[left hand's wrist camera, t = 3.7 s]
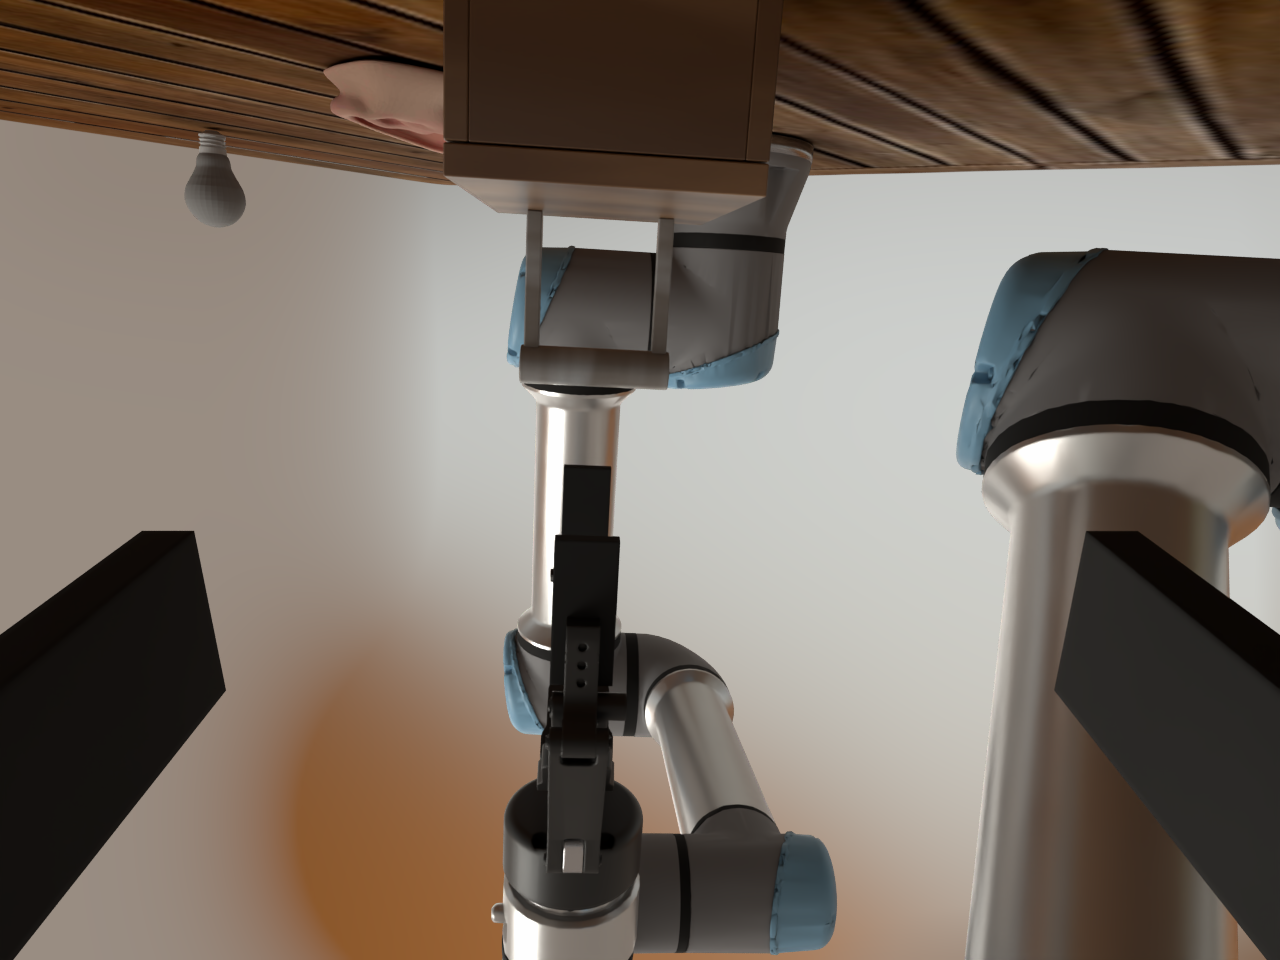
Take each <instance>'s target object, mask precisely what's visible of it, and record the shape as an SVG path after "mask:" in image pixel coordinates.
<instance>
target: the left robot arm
mask: <svg viewBox="0 0 1280 960" xmlns="http://www.w3.org/2000/svg"><path fill="white" fill-rule="evenodd" d="M956 456H957V461H958V463H959V464H960V466H962V467H963V468H965V469H969V470H972V471H973V472H974V473H976V474H979V475H983V474H984V476H983V482H982V495H983V500H984V503H985V506H986V508H987V509H988V511H989V512H990V514H991V515H992V516H993V517H994V518H995V519H996V520H997V521H998V522H999V523H1000V524H1001V525H1002V526H1003V527H1004V528H1005V529H1007V530H1008V531H1009V532H1010V543H1009V552H1008V561H1007V571H1006V580H1005V589H1004V599H1003V608H1002V617H1001V626H1000V636H999V645H998V654H997V663H996V673H995V682H994V691H993V701H992V710H991V719H990V729H989V738H988V747H987V756H986V766H985V775H984V784H983V794H982V803H981V812H980V821H979V831H978V840H977V849H976V859H975V868H974V877H973V886H972V896H971V905H970V914H969V924H968V933H967V942H966V952H965V960H1238V934H1237V923H1238V924H1239V925H1240V926H1241V928H1242V929H1243V930H1244V931H1245V933H1246V934H1247V935H1248V937H1249V938H1250V939H1251V940H1252V942H1253V943H1254V944H1255V945H1256V947H1257V948H1258V949H1259V951H1260V952H1261V953H1262V954H1263V955H1264V957H1265V958H1266V959H1267V960H1280V635H1279V634H1278V633H1277V632H1275V631H1274V630H1272V629H1271V628H1270V627H1268V626H1267V625H1266V624H1264V623H1263V622H1262V621H1260V620H1259V619H1257V618H1256V617H1255V616H1253V615H1252V614H1251V613H1249V612H1248V611H1246V610H1245V609H1244V608H1242V607H1241V606H1240V605H1238V604H1237V603H1236V602H1234V601H1233V600H1232V599H1230V597H1229V553H1228V548H1229V547H1230V546H1232V545H1234V544H1235V543H1237V542H1238V541H1240V540H1242V539H1243V538H1245V537H1246V536H1248V535H1249V534H1250V533H1252V532H1253V531H1254V530H1255V529H1257V528H1258V526H1259V525H1260V524H1261V523H1262V522H1263V521H1264V519H1265V517H1266V516H1267V514H1268V512H1269V507H1273V508H1272V513H1273V515H1274V517H1275V520H1276V525H1277V526H1278V528H1279V529H1280V259H1272V258H1252V257H1233V256H1214V255H1194V254H1175V253H1156V252H1136V251H1117V250H1108V249H1107V248H1095V249H1091V250H1089V251H1086V252H1040V253H1035V254H1031V255H1029V256H1027V257H1024V258H1022V259H1020V260H1019V261H1017V262H1016V263H1014V264H1013V265H1012V266H1011V267H1010V268H1009V270H1008V271H1007V272H1006V274H1005V276H1004V277H1003V279H1002V281H1001V283H1000V285H999V287H998V290H997V292H996V295H995V298H994V300H993V303H992V306H991V309H990V312H989V315H988V318H987V322H986V325H985V328H984V331H983V335H982V338H981V342H980V345H979V349H978V353H977V357H976V361H975V372H974V374H973V375H972V378H971V383H970V387H969V390H968V393H967V396H966V400H965V404H964V409H963V413H962V418H961V423H960V429H959V434H958V441H957V451H956ZM225 691H226V688H225V683H224V678H223V673H222V668H221V663H220V658H219V654H218V648H217V643H216V638H215V633H214V628H213V623H212V618H211V613H210V608H209V603H208V598H207V593H206V588H205V583H204V578H203V573H202V568H201V563H200V558H199V553H198V548H197V543H196V538H195V533H194V531H141V532H140V533H139V534H137V535H136V536H134V537H133V538H132V539H130V540H129V541H128V542H126V543H125V544H124V545H122V546H121V547H120V548H118V549H117V550H115V551H114V552H113V553H111V554H110V555H109V556H107V557H106V558H104V559H103V560H102V561H100V562H99V563H98V564H96V565H95V566H93V567H92V568H91V569H89V570H88V571H87V572H85V573H84V574H83V575H81V576H80V577H79V578H77V579H76V580H74V581H73V582H72V583H70V584H69V585H68V586H66V587H65V588H63V589H62V590H61V591H59V592H58V593H57V594H55V595H54V596H53V597H51V598H50V599H48V600H47V601H46V602H44V603H43V604H42V605H40V606H39V607H38V608H36V609H35V610H33V611H32V612H31V613H29V614H28V615H27V616H25V617H24V618H23V619H21V620H20V621H19V622H17V623H16V624H14V625H13V626H12V627H10V628H9V629H7V630H6V631H5V632H3V633H2V634H1V635H0V960H13V959H14V958H15V957H16V956H17V954H18V953H19V952H20V950H21V949H22V948H23V947H24V945H25V944H26V943H27V942H28V940H29V939H30V938H31V936H32V935H33V934H34V933H35V932H36V930H37V929H38V928H39V926H40V925H41V924H42V923H43V921H44V920H45V919H46V918H47V916H48V915H49V914H50V913H51V911H52V910H53V909H54V907H55V906H56V905H57V904H58V902H59V901H60V900H61V899H62V897H63V896H64V895H65V894H66V892H67V891H68V890H69V888H70V887H71V886H72V885H73V883H74V882H75V881H76V880H77V878H78V877H79V876H80V875H81V873H82V872H83V871H84V869H85V868H86V867H87V866H88V864H89V863H90V862H91V861H92V859H93V858H94V857H95V856H96V854H97V853H98V852H99V850H100V849H101V848H102V847H103V845H104V844H105V843H106V842H107V840H108V839H109V838H110V837H111V835H112V834H113V833H114V831H115V830H116V829H117V828H118V826H119V825H120V824H121V823H122V821H123V820H124V819H125V817H126V816H127V815H128V814H129V812H130V811H131V810H132V809H133V807H134V806H135V805H136V804H137V802H138V801H139V800H140V799H141V797H142V796H143V795H144V793H145V792H146V791H147V790H148V788H149V787H150V786H151V785H152V783H153V782H154V781H155V780H156V778H157V777H158V776H159V775H160V773H161V772H162V771H163V769H164V768H165V767H166V766H167V764H168V763H169V762H170V761H171V759H172V758H173V757H174V755H175V754H176V753H177V752H178V750H179V749H180V748H181V747H182V745H183V744H184V743H185V742H186V740H187V739H188V738H189V736H190V735H191V734H192V733H193V731H194V730H195V729H196V728H197V726H198V725H199V724H200V723H201V721H202V720H203V719H204V718H205V716H206V715H207V714H208V712H209V711H210V710H211V709H212V707H213V706H214V705H215V704H216V702H217V701H218V700H219V699H220V697H221V696H222V695H223V693H224V692H225Z"/></svg>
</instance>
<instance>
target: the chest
mask: <svg viewBox="0 0 1280 960" xmlns="http://www.w3.org/2000/svg"><path fill="white" fill-rule="evenodd" d="M782 11H783V0H444V12H443V138H444V140H445V141H446V142H452V143H467V144H482V145H497V146H511V147H526V148H541V149H556V150H571V151H586V152H600V153H615V154H630V155H645V156H660V157H674V158H689V159H704V160H719V161H734V162H749V163H763V164H766V163H768V162H769V161H770V150H771V138H772V127H773V115H774V104H775V92H776V80H777V69H778V57H779V45H780V34H781V22H782Z"/></svg>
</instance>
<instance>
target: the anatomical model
mask: <svg viewBox="0 0 1280 960" xmlns="http://www.w3.org/2000/svg"><path fill="white" fill-rule="evenodd" d="M324 74H325V75H326V77H327V78H328V79H329V80H330V81H331V82H333V83H334V84H335V85H336V86H337V87H338V88H339V90H340V92H341V93H340V95H339V96H337V97H336V98H334V99H333V100H332V101H331V104H330V107H331V111H332V112H333V113H334V114H336V115H338V116H340V117H342V118H345V119H348V120H350V121H353V122H355V123H358V124H360V125H362V126H364V127H367V128H369V129H372V130H374V131H377V132H380V133H383V134H385V135H388V136H391V137H394V138H397V139H400V140H403V141H405V142H408V143H411V144H414V145H417V146H420V147H423V148H426V149H429V150H432V151H435V152H439V153H443V144H444V142H446V141H445V140H444V138H443V72H442V71H438V70H434V69H429V68H424V67H419V66H414V65H409V64H403V63H398V62H392V61H384V60H358V61H351V62H347V63H342V64H338V65H334V66H332V67H329V68H326V69H325V70H324Z"/></svg>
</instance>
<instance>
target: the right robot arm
mask: <svg viewBox="0 0 1280 960" xmlns="http://www.w3.org/2000/svg"><path fill="white" fill-rule="evenodd" d="M812 158H813V146H812V145H811V144H810V143H808V142H805V141H802V140H799V139H795V138H791V137H785V136H779V135H772V138H771V150H770V161H769V162H768V163H766V164H769V172H768V184H767V195H766V197H764V198H761V199H759V200H757V201H755V202H752V203H750V204H748V205H746V206H743V207H741V208H739V209H737V210H734V211H732V212H730V213H727V214H725V215H723V216H721V217H718V218H716V219H714V220H712V221H709V222H707V223H705V224H702V225H689V224H674V237H673V253H672V269H671V285H670V301H669V317H668V333H667V349H666V352H669V357H670V369H669V382H668V387H667V388H673V389H682V388H687V389H706V388H720V387H729V386H736V385H742V384H747V383H751V382H754V381H757V380H760V379H761V378H763V377H764V376H766V375H767V374H768V373H769V371H770V370H771V367H772V364H773V359H774V352H775V345H776V338H777V337H778V335H779V330H778V320H779V308H780V297H781V285H782V274H783V262H784V249H785V239H786V231H787V227H788V224H789V222H790V219H791V217H792V214H793V212H794V210H795V207H796V205H797V202H798V200H799V197H800V195H801V192H802V190H803V187H804V185H805V182H806V180H807V177H808V175H809V172H810V169H811V165H812ZM655 268H656V253H647V252H632V251H616V250H600V249H584V248H575V247H574V246H569V247H568V248H548V247H547V248H546V247H542V274H541V310H540V345H545V346H565V347H584V348H604V349H623V350H643V351H651V337H652V319H653V302H654V285H655ZM525 274H526V256H525V257H524V259H523V261H522V264H521V267H520V272H519V276H518V281H517V286H516V292H515V298H514V303H513V310H512V316H511V323H510V330H509V339H508V353H507V361H508V363H509V364H511V365H514V366H515V367H519V358H520V348H521V345H522V344H524V317H525ZM522 385H523V386H524V388H525V389H526V390H527V391H528V392H529V393H530V394H531V395H532V396H533V397H534V398H535V400H536V441H535V483H534V527H533V569H532V606H531V607H530V608H529V609H527V610H526V611H525V612H524V613H522V615H521V616H520V618H519V620H518V629H514V630H512V631H509V632H508V633H507V634H506V637H505V641H504V660H503V661H504V671H505V675H504V685H505V695H506V702H507V709H508V713H509V717H510V720H511V722H512V725H513V726H514V727H515V728H516V729H517V730H518V731H520V732H521V733H524V734H537V735H541V750H540V760H539V762H538V776H537V779H535V780H533V781H531V782H529V783H527V784H526V785H524V786H523V787H521V788H520V789H519V790H518V791H517V792H516V793H515V794H514V795H513V796H512V798H511V799H510V801H509V803H508V805H507V807H506V809H505V814H504V838H503V869H504V873H505V875H504V890H503V903H496V904H495V905H494V906H493V907H492V914H491V919H492V920H493V922H497V923H504V924H503V935H502V955H503V957H502V960H632V958H633V953H771V954H772V955H778V954H779V953H782V952H795V951H808V950H817V949H820V948H823V947H824V946H825V945H826V944H827V943H828V942H829V941H830V939H831V937H832V935H833V932H834V927H835V921H836V911H837V894H836V883H835V876H834V871H833V866H832V862H831V859H830V856H829V853H828V851H827V849H826V847H825V845H824V844H823V843H822V842H821V840H820V839H818V838H815V837H814V836H811V835H800V834H795V833H793V832H792V831H790V832H786V834H780V832H779V830H778V828H777V826H776V824H775V821H774V819H773V817H772V814H771V812H770V810H769V808H768V805H767V803H766V801H765V798H764V796H763V794H762V791H761V789H760V786H759V784H758V782H757V779H756V777H755V775H754V772H753V770H752V768H751V765H750V763H749V761H748V758H747V756H746V754H745V751H744V749H743V747H742V745H741V742H740V740H739V737H738V735H737V733H736V730H735V728H734V726H733V723H732V721H733V716H734V707H733V701H732V697H731V695H730V693H729V690H728V688H727V686H726V684H725V682H724V681H723V679H722V678H721V676H720V675H719V674H718V673H717V672H716V670H715V669H714V668H713V667H712V666H711V665H709V664H708V663H707V662H706V661H705V660H704V659H702V658H701V657H700V656H698V655H697V654H695V653H694V652H692V651H691V650H689V649H687V648H686V647H684V646H682V645H680V644H678V643H676V642H673V641H671V640H669V639H666V638H662V637H659V636H655V635H649V634H636V633H621V622H620V619H619V618H618V616H617V615H616V610H617V591H618V571H619V553H620V537H615V536H613V524H614V506H615V487H616V470H617V452H618V433H619V416H620V405H621V403H622V401H623V400H625V399H626V398H627V397H628V396H629V395H631V394H632V393H633V392H634V391H635V389H634V388H613V387H593V386H572V385H551V384H530V383H522ZM613 736H634V737H653V739H654V740H655V741H656V742H657V743H658V744H659V745H660V746H661V749H662V753H663V758H664V762H665V767H666V771H667V776H668V780H669V785H670V789H671V793H672V798H673V802H674V807H675V811H676V816H677V820H678V824H679V829H680V834H653V833H650V834H648V833H642V827H643V815H642V810H641V807H640V805H639V802H638V801H637V799H636V798H635V796H634V795H633V794H632V793H631V792H630V791H629V790H628V789H627V788H626V787H624V786H623V785H621V784H620V783H618V782H616V781H614V762H613V761H612V753H613Z"/></svg>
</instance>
